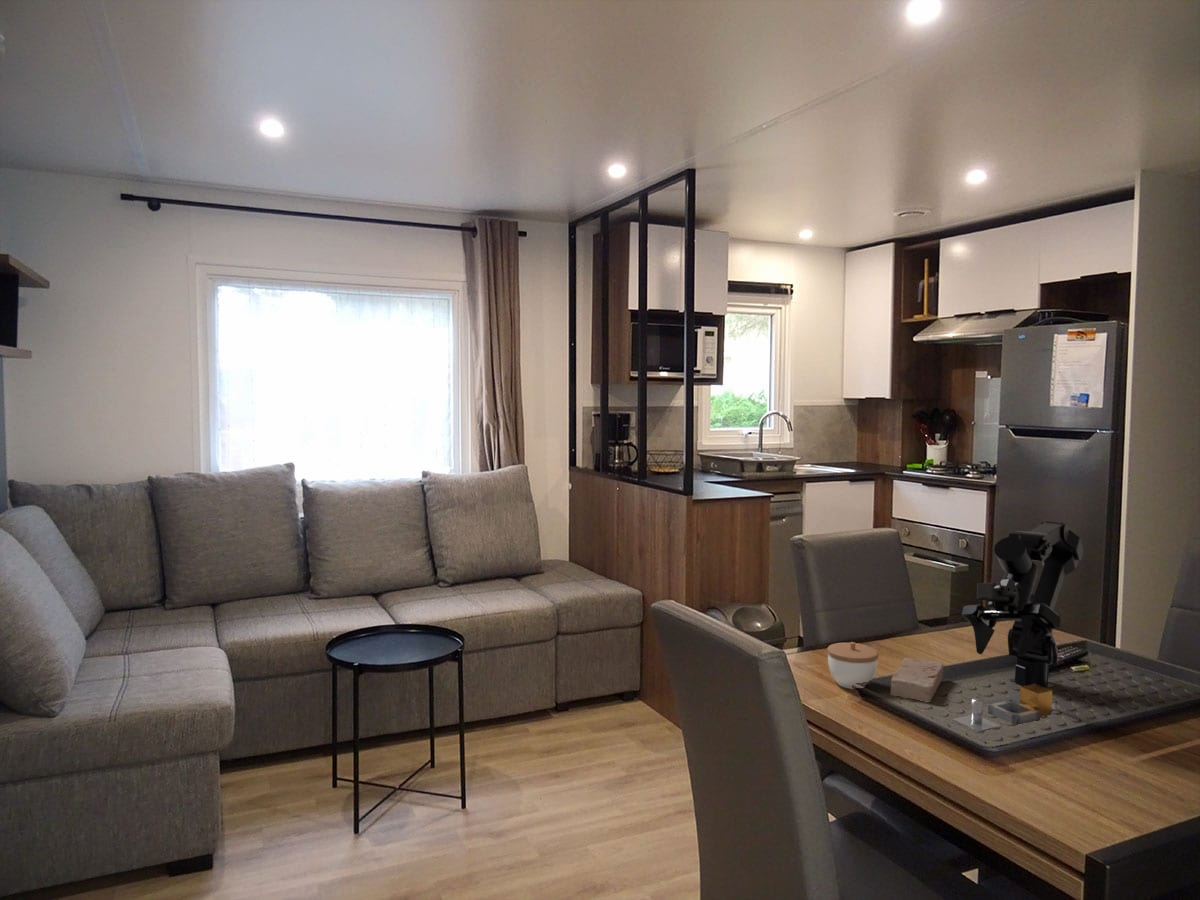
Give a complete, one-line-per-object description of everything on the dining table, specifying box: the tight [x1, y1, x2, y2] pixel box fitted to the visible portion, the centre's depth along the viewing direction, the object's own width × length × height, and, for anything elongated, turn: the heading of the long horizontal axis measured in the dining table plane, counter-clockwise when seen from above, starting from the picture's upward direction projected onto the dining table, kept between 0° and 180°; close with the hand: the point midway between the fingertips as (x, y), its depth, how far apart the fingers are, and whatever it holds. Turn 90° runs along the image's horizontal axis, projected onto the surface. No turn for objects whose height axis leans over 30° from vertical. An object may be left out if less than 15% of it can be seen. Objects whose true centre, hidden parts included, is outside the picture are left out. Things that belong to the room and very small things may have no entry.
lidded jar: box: [827, 641, 879, 690], centre depth 176 cm, size 11×11×9 cm
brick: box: [890, 657, 944, 702], centre depth 173 cm, size 17×8×5 cm, turn 148°
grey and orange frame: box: [988, 684, 1056, 725], centre depth 158 cm, size 14×6×5 cm, turn 113°
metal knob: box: [952, 697, 1001, 732], centre depth 153 cm, size 6×6×5 cm
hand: (998, 654), depth 158 cm, fingers open, 9 cm apart
